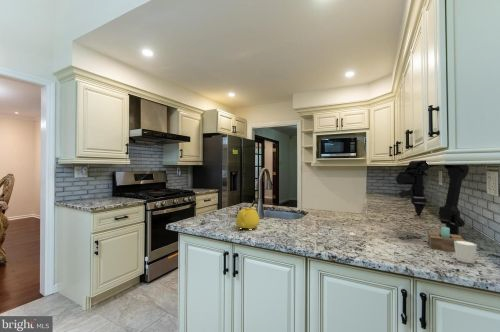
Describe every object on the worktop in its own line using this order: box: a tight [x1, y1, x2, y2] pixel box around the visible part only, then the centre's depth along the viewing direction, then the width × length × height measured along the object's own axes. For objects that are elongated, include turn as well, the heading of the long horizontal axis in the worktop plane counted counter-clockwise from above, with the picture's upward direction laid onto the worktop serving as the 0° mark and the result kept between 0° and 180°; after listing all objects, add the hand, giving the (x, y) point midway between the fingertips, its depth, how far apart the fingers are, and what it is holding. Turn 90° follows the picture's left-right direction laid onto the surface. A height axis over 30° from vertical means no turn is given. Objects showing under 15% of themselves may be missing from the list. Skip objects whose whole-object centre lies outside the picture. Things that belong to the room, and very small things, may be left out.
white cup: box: [454, 240, 478, 264], centre depth 96 cm, size 7×7×7 cm
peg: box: [440, 226, 450, 238], centre depth 112 cm, size 3×3×9 cm
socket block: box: [427, 231, 466, 253], centre depth 112 cm, size 12×12×5 cm
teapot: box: [235, 206, 261, 230], centre depth 150 cm, size 14×20×13 cm
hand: (417, 214), depth 125 cm, fingers open, 9 cm apart
